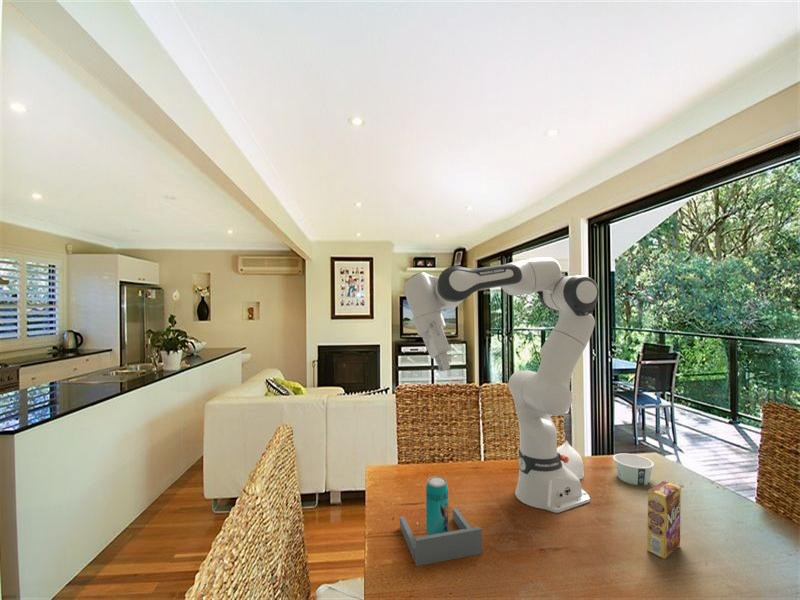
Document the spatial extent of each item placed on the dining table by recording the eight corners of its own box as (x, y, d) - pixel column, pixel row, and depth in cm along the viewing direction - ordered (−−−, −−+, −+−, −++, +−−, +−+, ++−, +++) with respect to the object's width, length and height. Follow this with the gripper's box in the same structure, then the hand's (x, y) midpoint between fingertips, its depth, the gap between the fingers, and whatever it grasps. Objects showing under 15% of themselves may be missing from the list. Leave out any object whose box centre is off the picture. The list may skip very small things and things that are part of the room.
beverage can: (442, 548, 95) (442, 488, 95) (422, 540, 98) (422, 482, 98) (452, 535, 100) (451, 479, 100) (432, 529, 103) (432, 474, 103)
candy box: (666, 560, 90) (665, 496, 90) (646, 551, 93) (645, 489, 93) (682, 547, 94) (681, 486, 95) (662, 538, 98) (661, 479, 98)
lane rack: (456, 518, 108) (456, 497, 108) (481, 553, 93) (481, 529, 93) (400, 527, 104) (399, 505, 104) (416, 566, 88) (416, 540, 88)
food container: (607, 470, 138) (607, 452, 138) (643, 472, 136) (643, 454, 136) (622, 486, 126) (622, 466, 126) (661, 488, 124) (661, 468, 124)
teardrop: (563, 482, 129) (563, 447, 129) (544, 468, 140) (543, 436, 140) (591, 478, 132) (590, 443, 132) (569, 465, 142) (569, 433, 142)
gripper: (444, 316, 103) (461, 364, 100) (436, 327, 123) (450, 368, 120) (422, 322, 103) (438, 372, 100) (418, 333, 122) (431, 374, 120)
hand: (445, 370), depth 110 cm, fingers open, 8 cm apart
